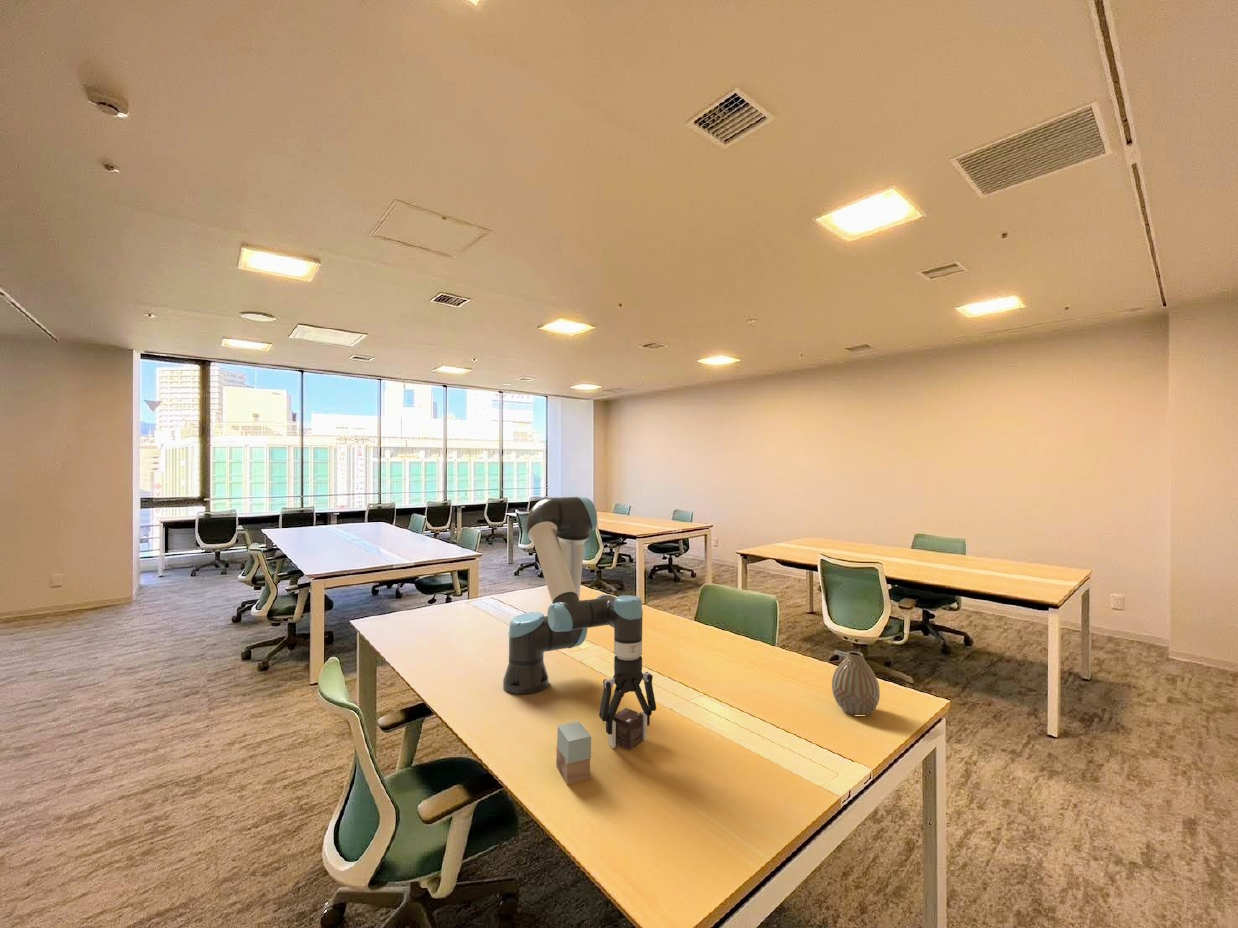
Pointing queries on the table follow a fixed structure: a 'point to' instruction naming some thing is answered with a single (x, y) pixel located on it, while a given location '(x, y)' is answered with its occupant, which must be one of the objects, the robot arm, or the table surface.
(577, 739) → the tower top
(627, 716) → the box
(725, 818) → the table surface
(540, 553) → the robot arm
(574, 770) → the tower base
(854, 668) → the vase
